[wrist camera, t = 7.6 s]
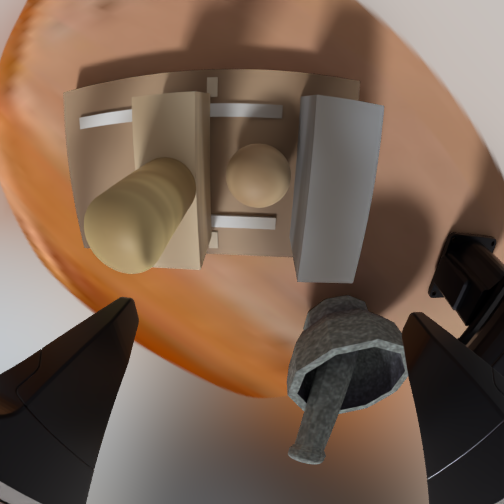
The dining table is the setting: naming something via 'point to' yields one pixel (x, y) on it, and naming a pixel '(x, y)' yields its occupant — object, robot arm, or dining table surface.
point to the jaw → (159, 190)
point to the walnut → (258, 175)
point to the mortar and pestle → (341, 369)
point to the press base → (238, 136)
